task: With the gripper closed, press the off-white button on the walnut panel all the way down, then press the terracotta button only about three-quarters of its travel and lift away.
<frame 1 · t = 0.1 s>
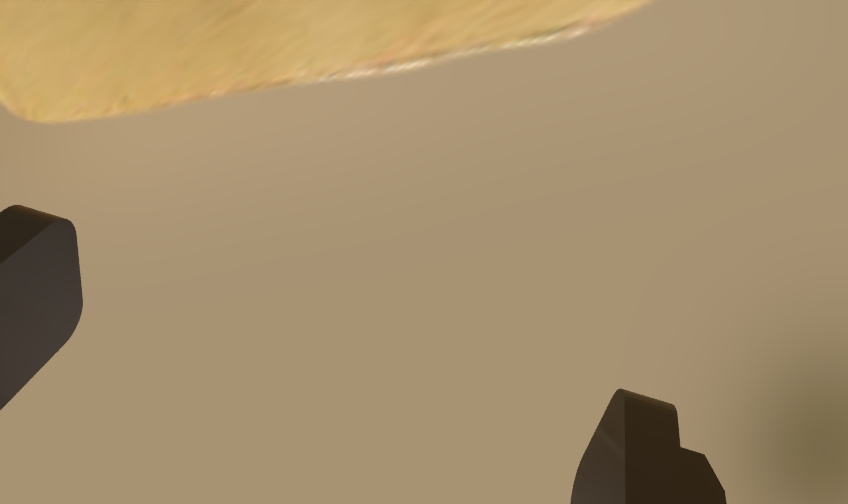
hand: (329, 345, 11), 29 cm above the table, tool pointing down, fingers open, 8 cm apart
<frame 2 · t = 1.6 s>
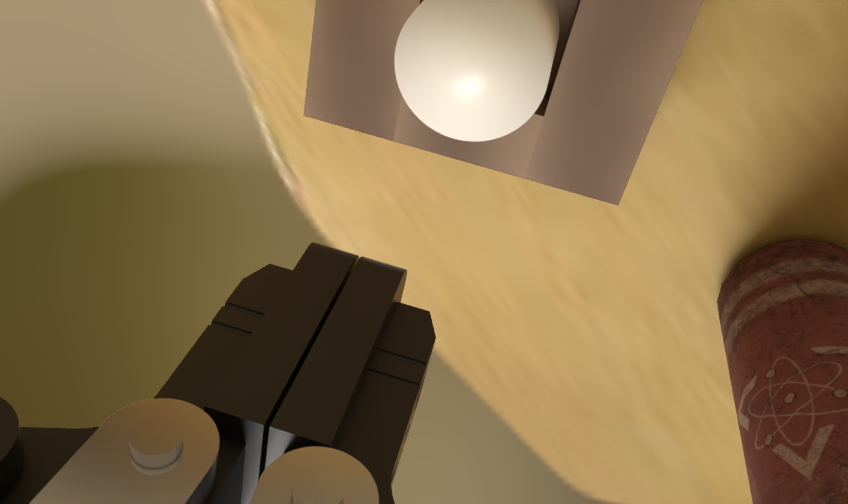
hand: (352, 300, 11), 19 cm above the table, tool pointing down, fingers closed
offwhite button: (481, 47, 22), point 6 cm above the table, slide at 0.0 cm
can: (790, 294, 31), on the table
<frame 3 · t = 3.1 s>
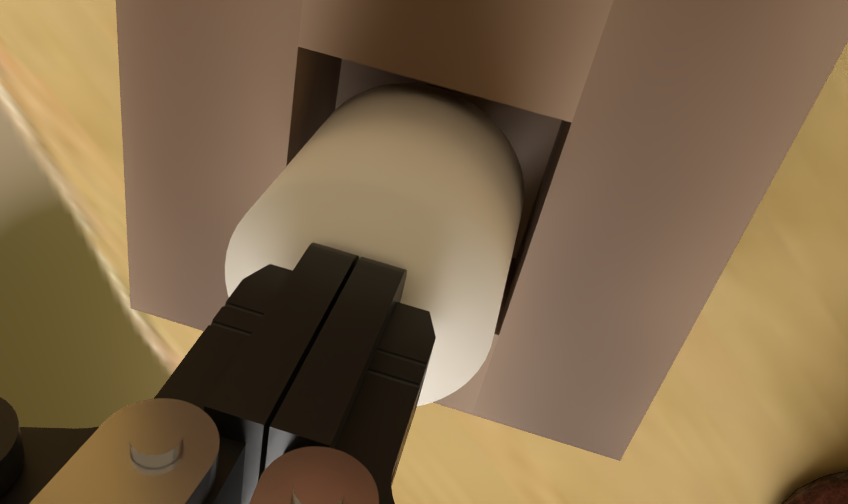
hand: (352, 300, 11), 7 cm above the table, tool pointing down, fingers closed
offwhite button: (389, 239, 13), point 5 cm above the table, slide at 0.9 cm, touching gripper
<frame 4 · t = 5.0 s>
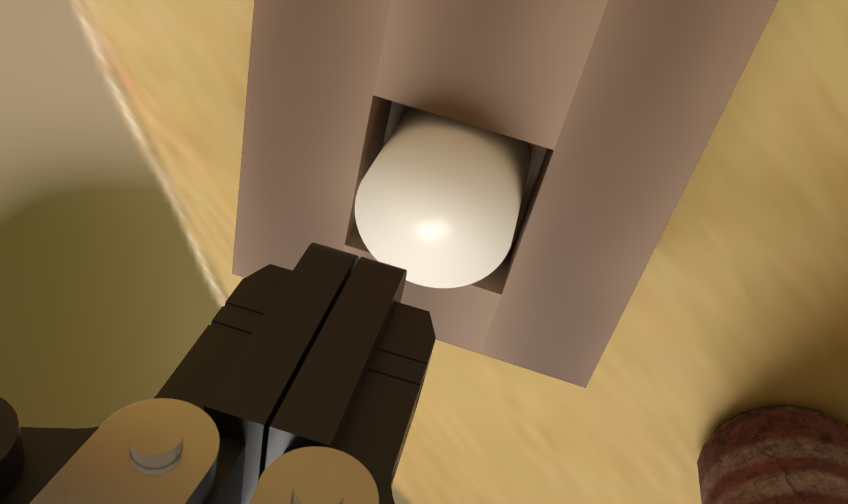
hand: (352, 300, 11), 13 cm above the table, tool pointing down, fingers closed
offwhite button: (447, 187, 21), point 3 cm above the table, slide at 3.0 cm
can: (778, 456, 28), on the table
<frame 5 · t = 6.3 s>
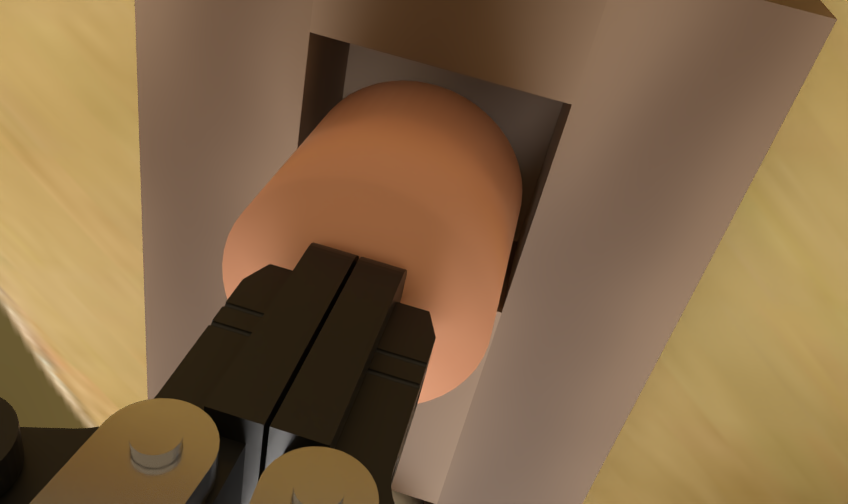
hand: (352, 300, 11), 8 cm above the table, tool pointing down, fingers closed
terracotta button: (386, 237, 13), point 6 cm above the table, slide at 0.1 cm, touching gripper
button panel: (407, 295, 22), on the table
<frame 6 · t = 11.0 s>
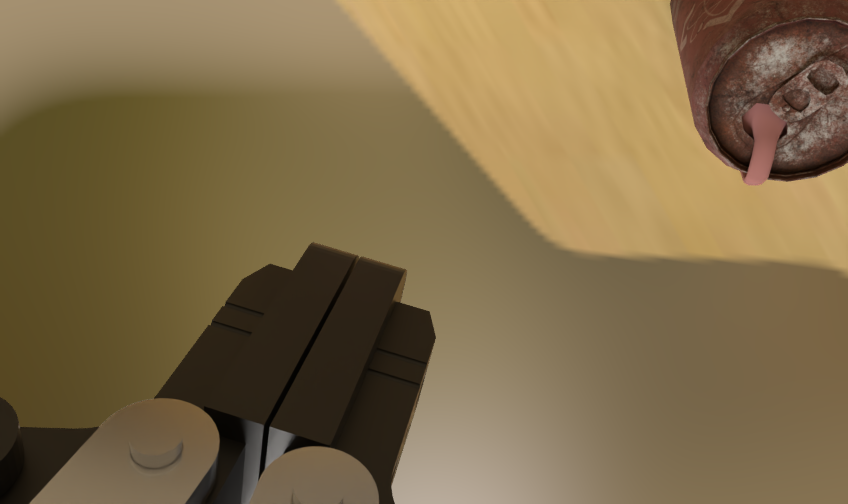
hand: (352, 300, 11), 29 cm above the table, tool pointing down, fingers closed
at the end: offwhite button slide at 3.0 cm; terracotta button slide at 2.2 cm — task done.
